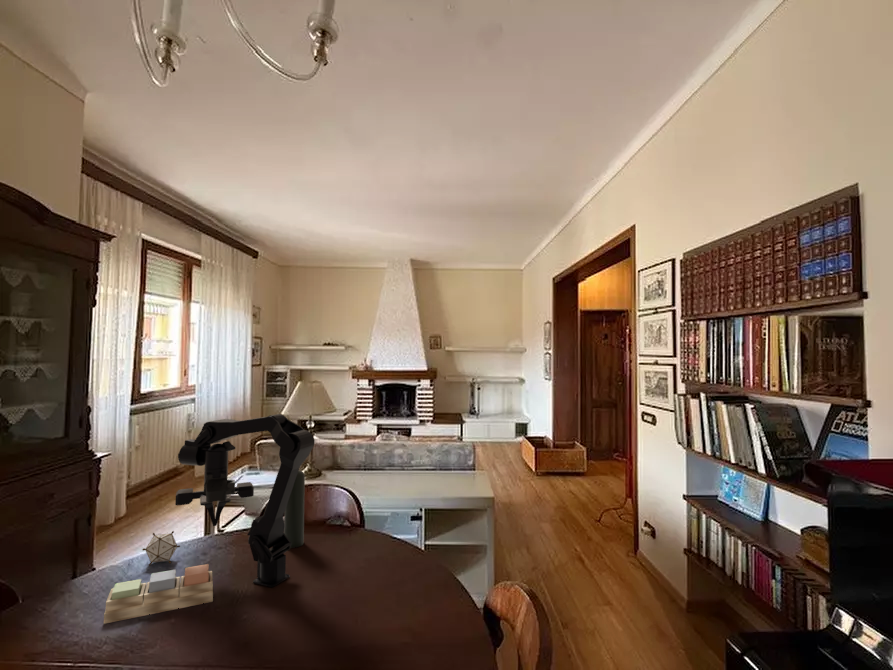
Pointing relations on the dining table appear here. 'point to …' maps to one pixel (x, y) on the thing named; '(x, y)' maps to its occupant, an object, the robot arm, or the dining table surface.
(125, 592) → the sage button
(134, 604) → the console
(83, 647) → the dining table surface
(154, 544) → the game die
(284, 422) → the robot arm
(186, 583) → the terracotta button
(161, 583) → the slate button
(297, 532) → the wine bottle
